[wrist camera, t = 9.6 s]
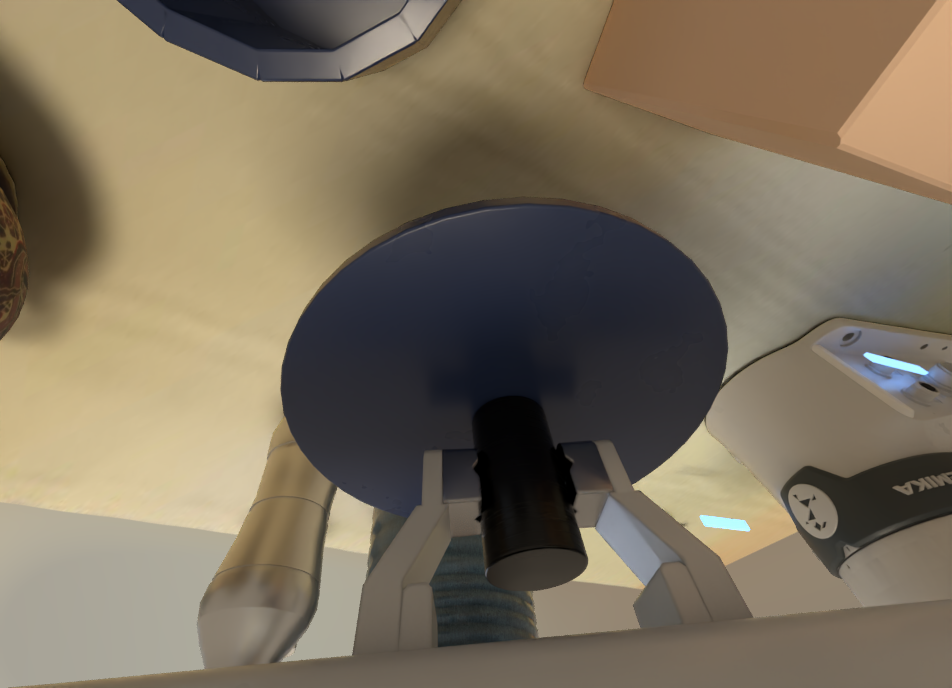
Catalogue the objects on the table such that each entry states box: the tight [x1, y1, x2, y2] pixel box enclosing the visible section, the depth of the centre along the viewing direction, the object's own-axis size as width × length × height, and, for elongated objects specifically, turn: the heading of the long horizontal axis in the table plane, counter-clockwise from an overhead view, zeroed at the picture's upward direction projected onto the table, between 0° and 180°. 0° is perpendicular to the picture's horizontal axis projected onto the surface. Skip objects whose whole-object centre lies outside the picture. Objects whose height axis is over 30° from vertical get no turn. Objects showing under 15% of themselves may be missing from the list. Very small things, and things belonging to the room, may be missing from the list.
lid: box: [281, 197, 728, 591], centre depth 11 cm, size 14×14×6 cm
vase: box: [366, 507, 538, 647], centre depth 31 cm, size 16×16×32 cm
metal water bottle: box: [197, 417, 337, 669], centre depth 26 cm, size 6×7×20 cm
